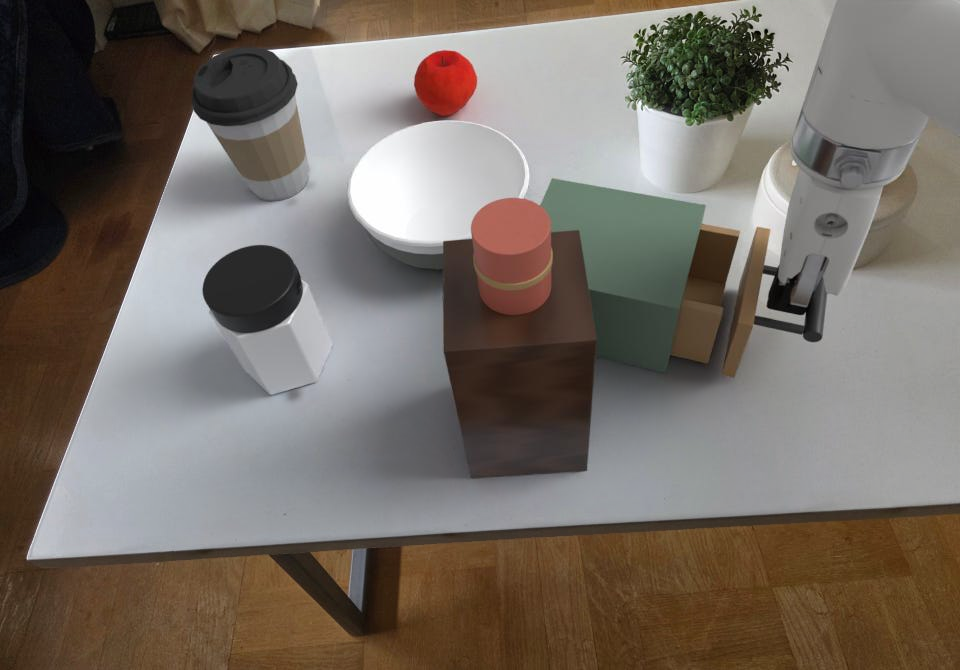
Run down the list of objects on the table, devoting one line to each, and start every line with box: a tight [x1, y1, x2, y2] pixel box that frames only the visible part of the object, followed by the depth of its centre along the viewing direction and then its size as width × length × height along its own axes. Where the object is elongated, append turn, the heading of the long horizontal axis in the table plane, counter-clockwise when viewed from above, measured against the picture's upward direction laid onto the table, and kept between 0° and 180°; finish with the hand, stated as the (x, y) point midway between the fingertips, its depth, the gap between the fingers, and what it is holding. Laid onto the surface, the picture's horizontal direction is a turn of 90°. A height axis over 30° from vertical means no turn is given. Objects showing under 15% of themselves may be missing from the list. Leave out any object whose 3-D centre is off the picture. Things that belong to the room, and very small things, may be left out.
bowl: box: [346, 119, 530, 270], centre depth 77 cm, size 19×19×8 cm
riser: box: [442, 230, 597, 479], centre depth 58 cm, size 10×10×19 cm
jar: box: [201, 244, 334, 396], centre depth 67 cm, size 9×8×12 cm
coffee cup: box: [190, 46, 310, 202], centre depth 82 cm, size 11×11×15 cm
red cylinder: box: [471, 198, 553, 315], centre depth 48 cm, size 5×5×6 cm
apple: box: [413, 49, 478, 117], centre depth 91 cm, size 8×8×7 cm
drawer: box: [670, 223, 828, 379], centre depth 66 cm, size 19×11×8 cm, turn 70°
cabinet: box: [539, 177, 707, 374], centre depth 69 cm, size 15×13×10 cm
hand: (785, 305), depth 64 cm, fingers closed
